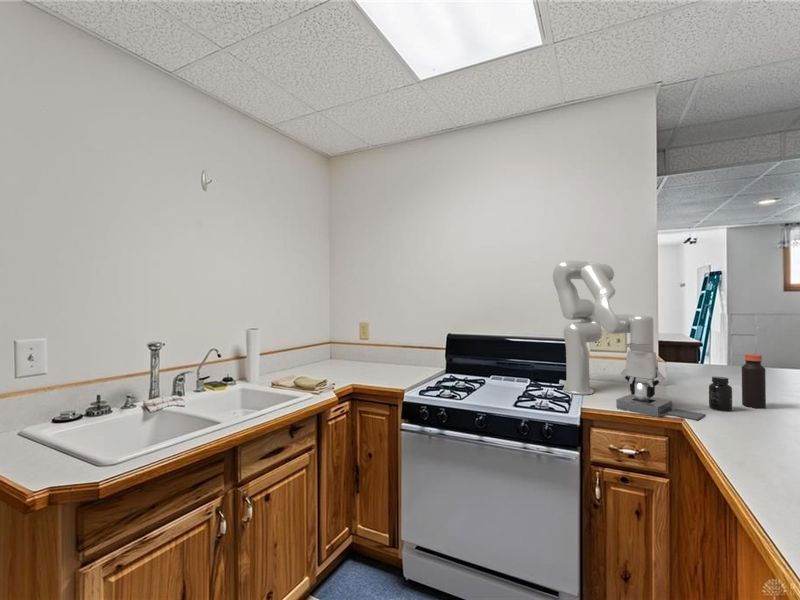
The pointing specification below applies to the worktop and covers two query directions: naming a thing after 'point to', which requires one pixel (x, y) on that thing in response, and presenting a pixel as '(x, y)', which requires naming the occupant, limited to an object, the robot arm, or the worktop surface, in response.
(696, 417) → the mat
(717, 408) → the supplement bottle
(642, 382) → the shiny grey cylinder
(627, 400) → the block
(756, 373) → the vinegar
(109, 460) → the worktop surface
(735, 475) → the worktop surface
